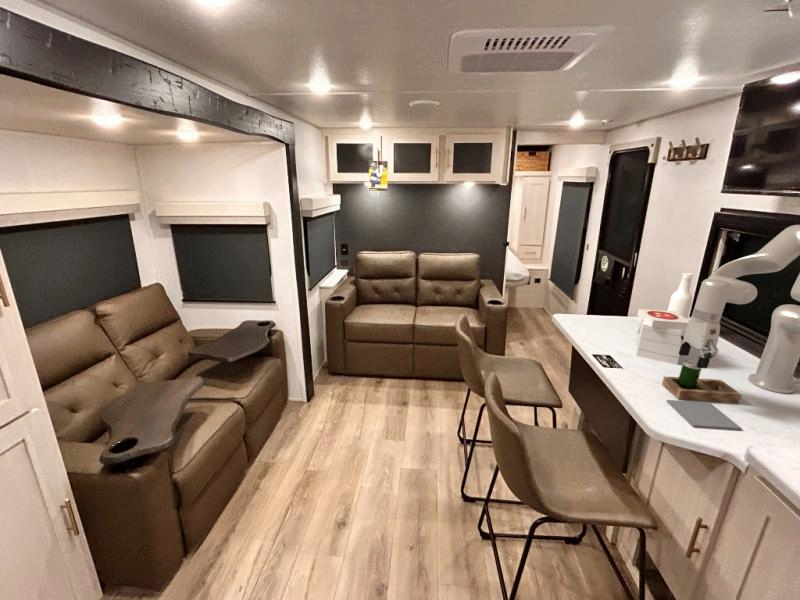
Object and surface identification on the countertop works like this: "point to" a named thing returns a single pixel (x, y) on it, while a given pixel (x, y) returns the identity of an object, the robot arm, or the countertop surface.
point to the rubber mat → (703, 415)
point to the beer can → (689, 375)
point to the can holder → (703, 391)
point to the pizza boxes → (660, 335)
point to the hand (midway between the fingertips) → (692, 361)
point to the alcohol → (682, 297)
